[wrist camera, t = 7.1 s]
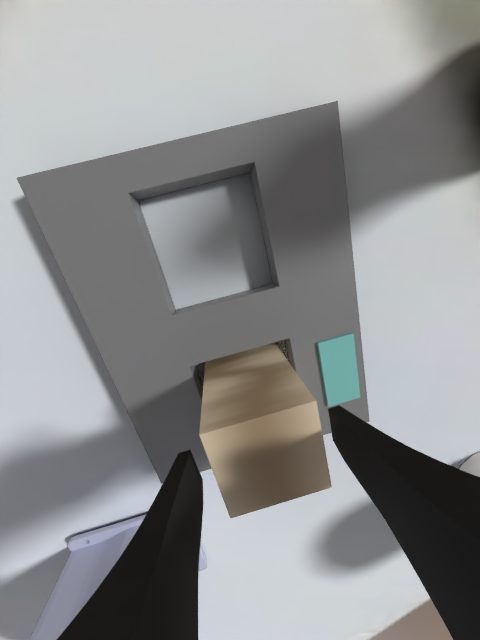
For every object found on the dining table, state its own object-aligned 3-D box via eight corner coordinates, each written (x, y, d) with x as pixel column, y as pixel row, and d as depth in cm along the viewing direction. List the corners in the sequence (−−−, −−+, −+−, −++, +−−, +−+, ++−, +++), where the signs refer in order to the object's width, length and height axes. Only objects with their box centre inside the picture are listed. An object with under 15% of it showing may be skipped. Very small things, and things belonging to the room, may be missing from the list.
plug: (224, 417, 17) (230, 518, 11) (205, 359, 16) (199, 435, 9) (286, 399, 17) (331, 487, 11) (273, 340, 16) (316, 400, 9)
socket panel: (165, 465, 18) (160, 486, 16) (40, 187, 12) (12, 176, 10) (357, 408, 18) (371, 423, 17) (323, 118, 13) (339, 98, 11)
